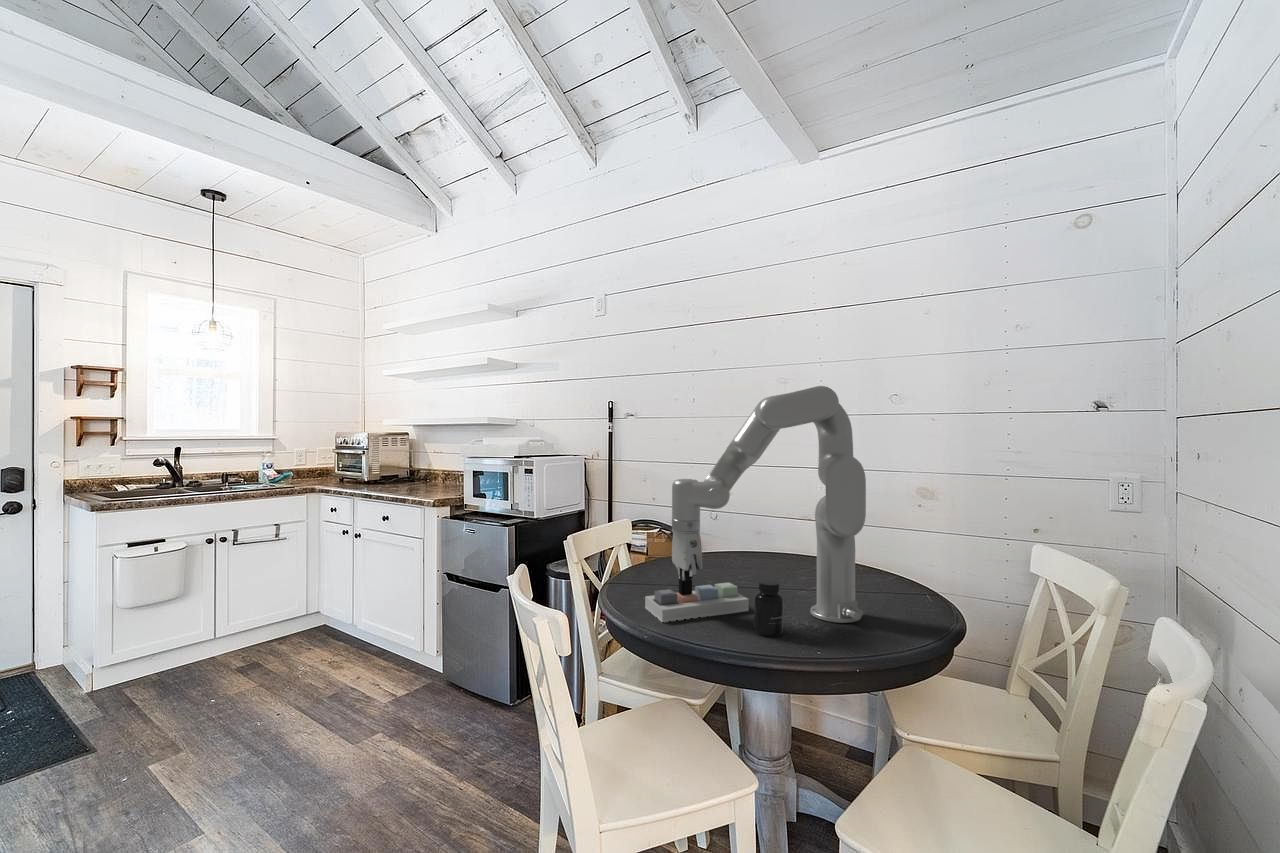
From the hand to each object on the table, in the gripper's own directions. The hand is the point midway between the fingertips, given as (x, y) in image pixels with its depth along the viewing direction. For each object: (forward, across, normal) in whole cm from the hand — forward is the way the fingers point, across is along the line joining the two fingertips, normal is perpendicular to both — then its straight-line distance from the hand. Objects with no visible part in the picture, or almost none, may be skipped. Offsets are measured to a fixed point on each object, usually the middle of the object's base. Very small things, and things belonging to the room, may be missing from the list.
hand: (685, 593), depth 154 cm
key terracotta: (+3, 0, 0) cm, 3 cm away
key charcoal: (+2, 0, +6) cm, 6 cm away
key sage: (+2, 0, -12) cm, 12 cm away
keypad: (+5, 0, -3) cm, 6 cm away
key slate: (+2, 0, -6) cm, 7 cm away
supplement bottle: (+5, -21, -12) cm, 25 cm away
